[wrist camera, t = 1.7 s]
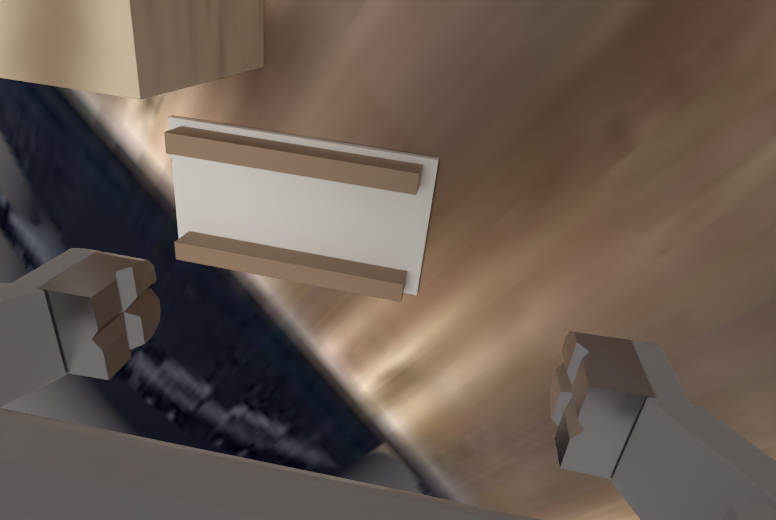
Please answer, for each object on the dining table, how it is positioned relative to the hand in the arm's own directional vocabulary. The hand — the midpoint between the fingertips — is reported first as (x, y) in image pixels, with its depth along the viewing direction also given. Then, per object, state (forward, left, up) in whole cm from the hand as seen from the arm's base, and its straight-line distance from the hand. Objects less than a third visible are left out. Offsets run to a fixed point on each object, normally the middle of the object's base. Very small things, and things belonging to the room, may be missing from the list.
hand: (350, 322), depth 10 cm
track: (-4, -13, -27) cm, 30 cm away
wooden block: (-16, -6, -27) cm, 32 cm away
